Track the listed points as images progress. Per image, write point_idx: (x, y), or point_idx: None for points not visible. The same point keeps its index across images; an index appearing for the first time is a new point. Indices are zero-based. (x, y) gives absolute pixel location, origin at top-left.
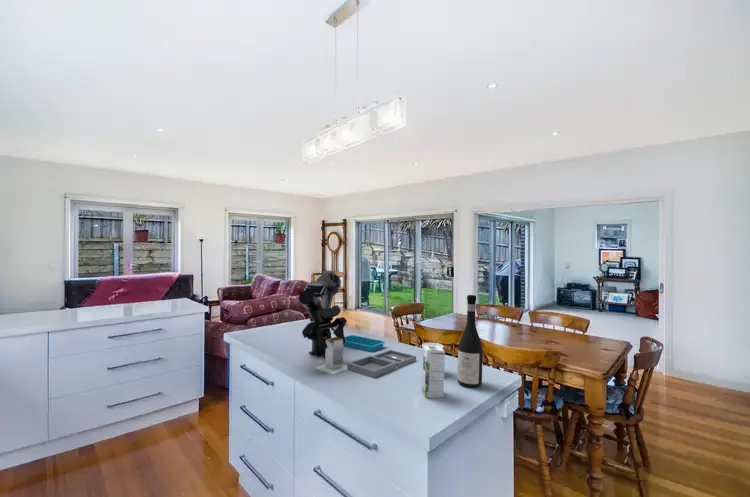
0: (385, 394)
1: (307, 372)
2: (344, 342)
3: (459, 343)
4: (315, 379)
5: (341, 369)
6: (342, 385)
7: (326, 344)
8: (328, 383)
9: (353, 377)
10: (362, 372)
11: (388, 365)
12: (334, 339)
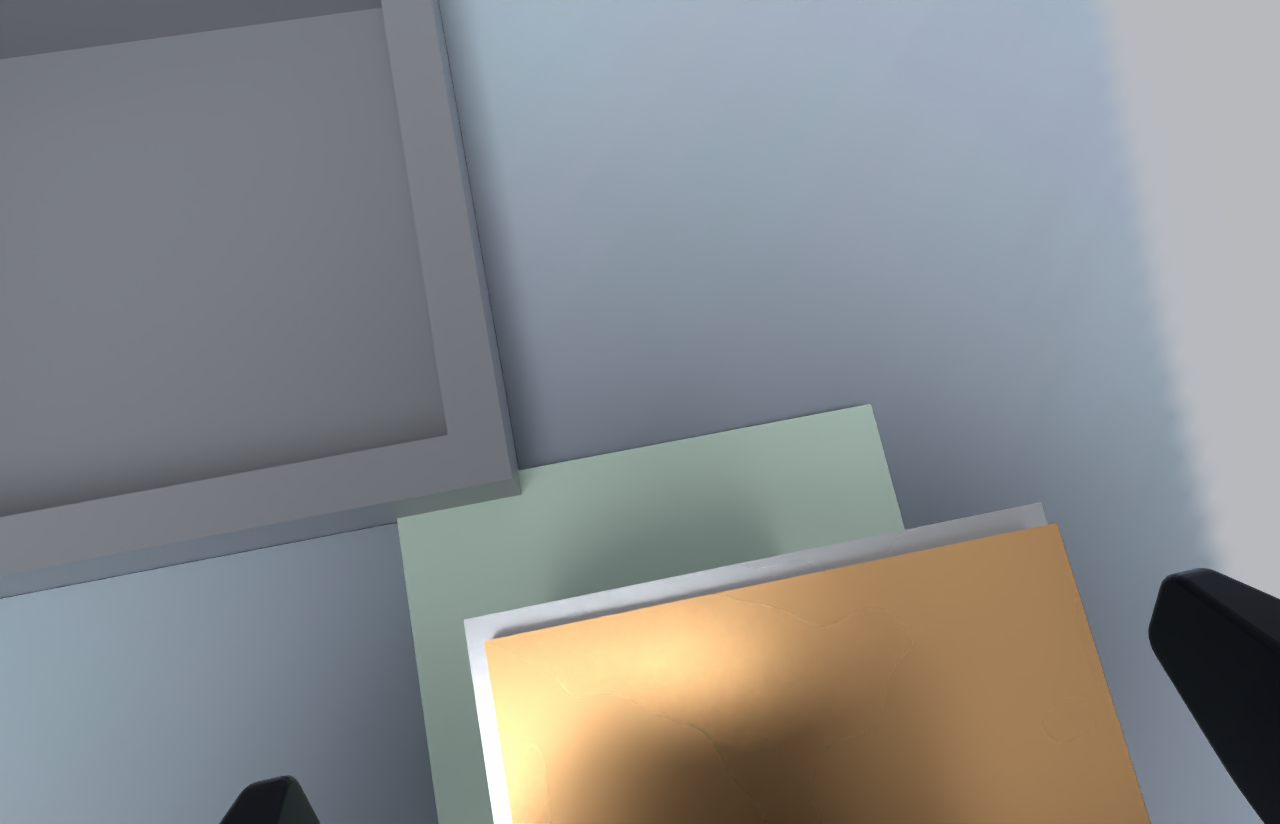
0: None
1: (1181, 795)
2: (292, 790)
3: None
4: (1174, 425)
5: (636, 508)
6: (935, 38)
7: (1263, 621)
8: (1068, 193)
9: (645, 170)
10: (461, 154)
11: None
12: (890, 734)
